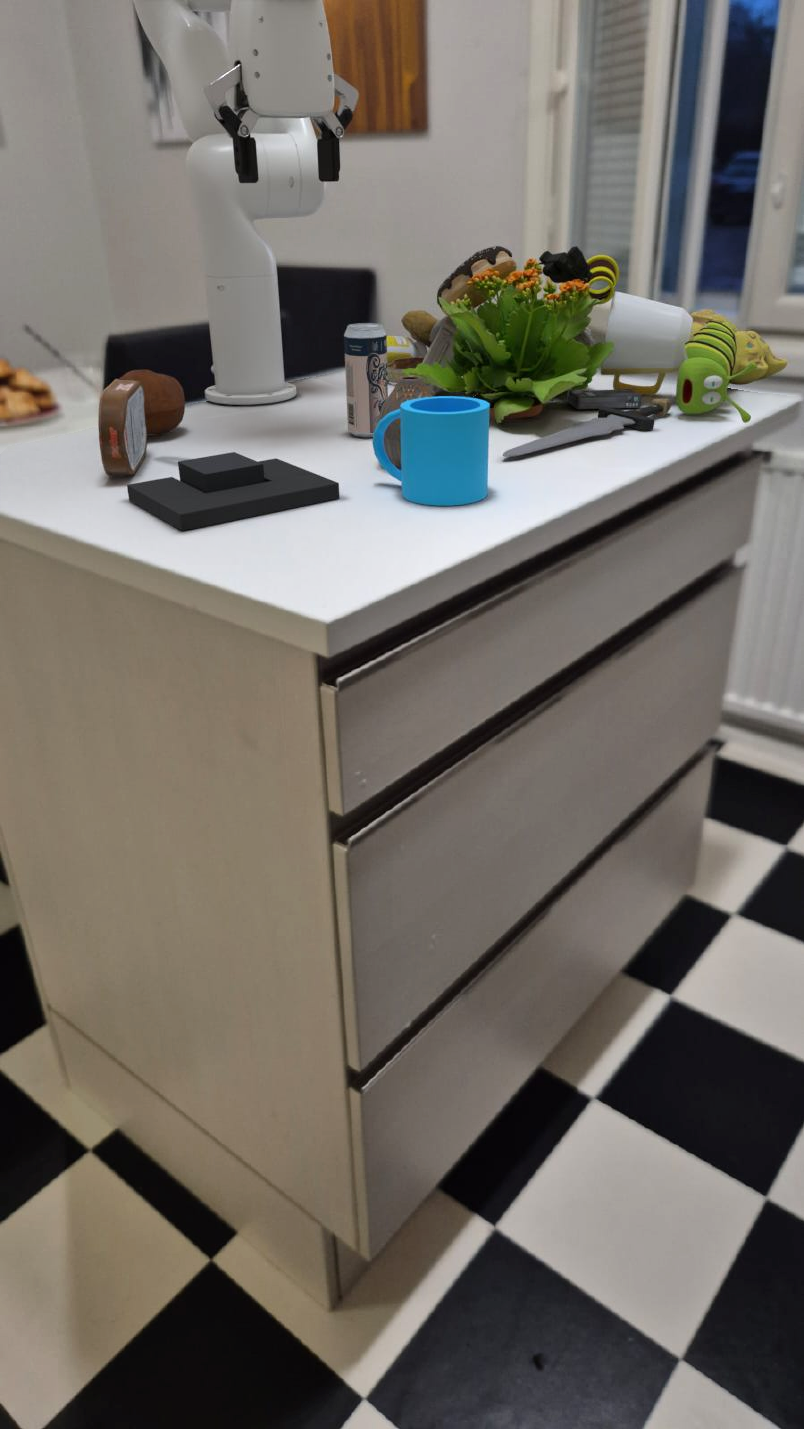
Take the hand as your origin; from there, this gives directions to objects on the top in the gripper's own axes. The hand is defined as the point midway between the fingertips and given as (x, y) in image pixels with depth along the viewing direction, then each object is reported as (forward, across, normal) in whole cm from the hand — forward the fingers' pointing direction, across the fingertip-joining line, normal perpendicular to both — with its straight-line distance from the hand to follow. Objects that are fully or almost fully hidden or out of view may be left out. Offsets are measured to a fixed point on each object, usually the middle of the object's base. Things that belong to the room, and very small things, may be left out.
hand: (289, 182), depth 104 cm
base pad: (+26, +19, +19) cm, 37 cm away
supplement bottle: (+23, -27, -28) cm, 45 cm away
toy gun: (+8, -33, +4) cm, 34 cm away
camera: (+25, -29, -13) cm, 40 cm away
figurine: (+21, -62, +2) cm, 66 cm away
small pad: (+26, +19, +17) cm, 36 cm away
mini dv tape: (+25, -37, +13) cm, 47 cm away
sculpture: (+21, -37, -20) cm, 47 cm away
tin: (+26, +22, +1) cm, 34 cm away
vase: (+26, -2, +19) cm, 33 cm away
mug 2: (+20, -50, +14) cm, 55 cm away
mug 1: (+26, +3, +28) cm, 39 cm away
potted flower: (+26, -26, +5) cm, 37 cm away
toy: (+20, -50, +14) cm, 56 cm away
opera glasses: (+12, -38, +4) cm, 40 cm away
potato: (+26, +14, -12) cm, 32 cm away
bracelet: (+26, -31, -20) cm, 45 cm away
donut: (+13, -29, -2) cm, 32 cm away
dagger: (+24, -39, +14) cm, 48 cm away
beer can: (+26, -6, +4) cm, 27 cm away
